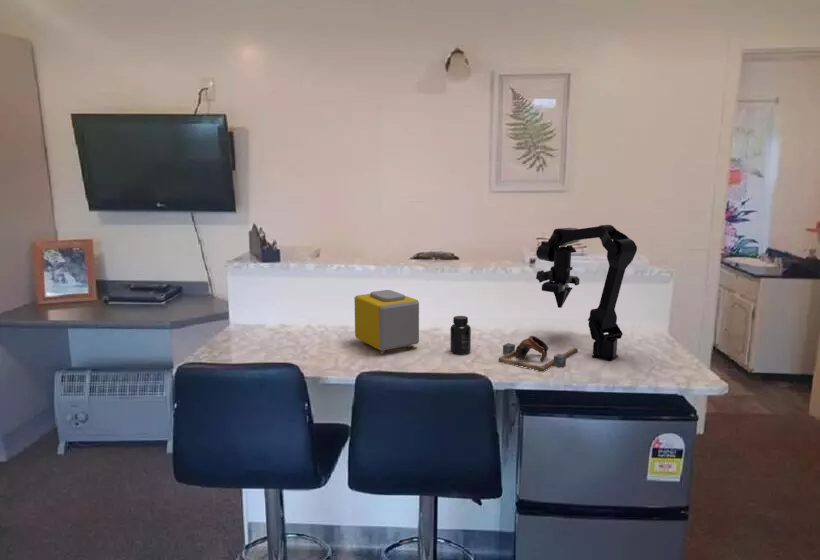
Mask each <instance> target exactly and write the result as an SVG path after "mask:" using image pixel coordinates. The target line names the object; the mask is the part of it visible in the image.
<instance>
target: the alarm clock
mask: <svg viewBox="0 0 820 560" xmlns="http://www.w3.org/2000/svg"><path fill="white" fill-rule="evenodd" d="M354 332H355V333H354V336H355V338H356V339H358V340H359V341H362V342H363V344H364V343H366V344H367V345H369V346H371V347H373V348H375V349H377V350H379V351H380V353H381V352H382V353H381V354H384V353H385V351H386V350H387V351H388V350H391V349H397V348H402V347H407V348H408V349H410V348H411V346H414V345H417V344H419V342H420V302H419V300H418V299H416V298H413V297H410V296H407V295H405V294H403V293H400V292H397V291H394V290H391V289H383V290H382V289H381V290H374V291H372V292H371V291H370V292H369V293H366V294H359V295H358V294H357V295H355V296H354Z"/></svg>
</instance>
